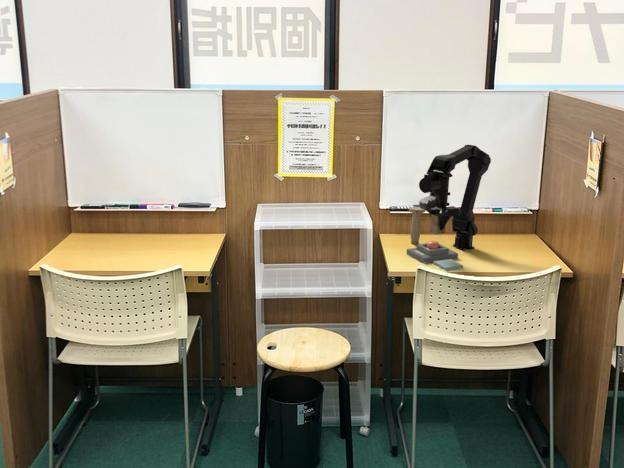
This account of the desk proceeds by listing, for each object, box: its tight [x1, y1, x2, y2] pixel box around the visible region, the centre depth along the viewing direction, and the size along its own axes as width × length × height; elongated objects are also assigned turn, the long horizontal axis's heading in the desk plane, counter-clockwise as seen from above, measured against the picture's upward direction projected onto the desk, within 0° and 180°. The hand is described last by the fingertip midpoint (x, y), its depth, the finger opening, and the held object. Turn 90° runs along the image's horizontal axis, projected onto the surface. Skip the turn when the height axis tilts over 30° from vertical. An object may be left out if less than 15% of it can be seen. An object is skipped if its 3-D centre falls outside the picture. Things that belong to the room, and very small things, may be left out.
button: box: [426, 240, 440, 249], centre depth 265 cm, size 4×4×4 cm
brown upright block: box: [429, 214, 446, 235], centre depth 262 cm, size 4×4×7 cm
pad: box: [432, 259, 464, 271], centre depth 255 cm, size 8×8×1 cm
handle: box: [408, 206, 426, 245], centre depth 280 cm, size 5×6×15 cm
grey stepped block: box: [406, 242, 459, 264], centre depth 266 cm, size 16×12×4 cm
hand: (437, 228), depth 262 cm, fingers closed on brown upright block, 4 cm apart
